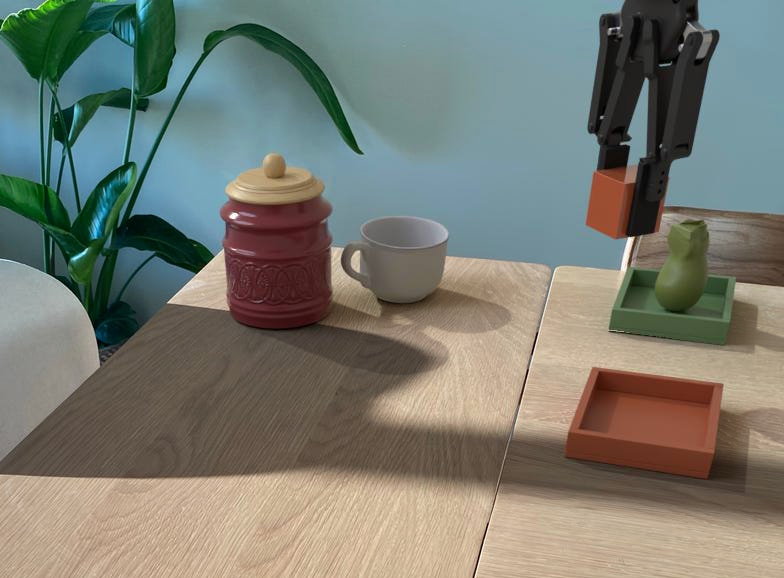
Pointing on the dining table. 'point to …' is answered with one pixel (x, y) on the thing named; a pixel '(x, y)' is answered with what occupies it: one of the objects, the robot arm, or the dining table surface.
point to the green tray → (648, 317)
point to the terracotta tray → (646, 422)
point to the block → (614, 201)
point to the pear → (684, 266)
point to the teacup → (399, 257)
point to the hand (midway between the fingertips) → (622, 225)
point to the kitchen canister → (277, 246)
